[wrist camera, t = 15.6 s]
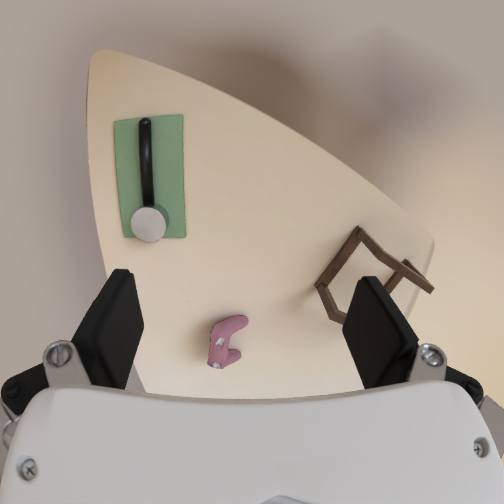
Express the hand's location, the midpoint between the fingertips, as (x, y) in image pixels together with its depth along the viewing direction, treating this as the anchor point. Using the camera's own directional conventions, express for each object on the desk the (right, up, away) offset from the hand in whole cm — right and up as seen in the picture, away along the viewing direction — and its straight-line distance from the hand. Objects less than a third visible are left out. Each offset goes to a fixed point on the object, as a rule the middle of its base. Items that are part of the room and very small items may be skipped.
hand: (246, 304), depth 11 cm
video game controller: (-4, -12, +34) cm, 36 cm away
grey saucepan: (-13, +11, +21) cm, 27 cm away
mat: (-13, +11, +21) cm, 27 cm away
